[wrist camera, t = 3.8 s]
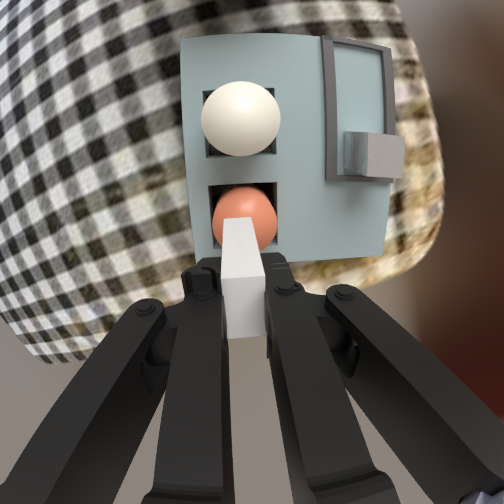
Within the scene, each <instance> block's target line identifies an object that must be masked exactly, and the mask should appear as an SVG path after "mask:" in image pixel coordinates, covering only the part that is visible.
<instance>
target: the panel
mask: <svg viewBox="0 0 504 504" xmlns="http://www.w3.org/2000/svg"><path fill="white" fill-rule="evenodd" d="M180 64H181V100H182V121H183V137H184V152H185V165H186V177H187V188H188V198H189V207H190V217H191V225H192V234H193V242H194V250H195V257H196V265H197V262H199V261H200V260H201V259H202V258H206V257H221V256H222V246H221V245H220V244H219V242H218V241H217V239H216V238H215V235H214V232H213V228H212V222H213V216H214V214H213V202H212V189H211V185H224V184H241V183H263V182H273V209H274V211H275V214H276V217H277V231H276V234H275V236H274V238H273V240H272V241H271V243H270V244H269V245H268V246H267V247H266V248H264V249H263V250H261V251H259V252H260V253H270V252H279V253H281V254H282V255H283V256H285V258H286V261H287V262H297V261H312V260H327V259H342V258H356V257H370V256H382V253H383V247H384V240H385V233H386V226H387V218H388V209H389V199H390V188H391V183H393V178H387V177H368V176H365V175H362V174H359V173H357V172H354V171H352V170H349V169H346V168H344V131H353V132H371V133H379V134H387V135H395V94H394V77H393V65H392V55H391V48H387V47H383V46H379V45H375V44H371V43H366V42H362V41H357V40H351V39H346V38H340V37H334V36H326V35H322V36H321V37H317V36H307V35H295V34H277V33H239V34H220V35H208V36H199V37H190V38H183V39H180ZM238 81H244V82H251V83H254V84H257V85H259V86H261V87H263V88H264V89H266V90H267V91H268V92H269V93H270V94H271V95H272V96H273V97H274V99H275V100H276V102H277V104H278V107H279V110H280V116H281V121H280V127H279V130H278V133H277V135H276V137H275V138H274V140H273V141H272V153H256V154H253V155H249V156H232V155H228V154H227V155H212V156H209V145H208V140H207V138H206V137H205V135H204V132H203V130H202V126H201V113H202V109H203V106H204V104H205V102H206V96H207V95H211V94H212V93H213V92H214V91H215V90H216V89H218V88H219V87H221V86H223V85H225V84H228V83H232V82H238Z"/></svg>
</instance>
